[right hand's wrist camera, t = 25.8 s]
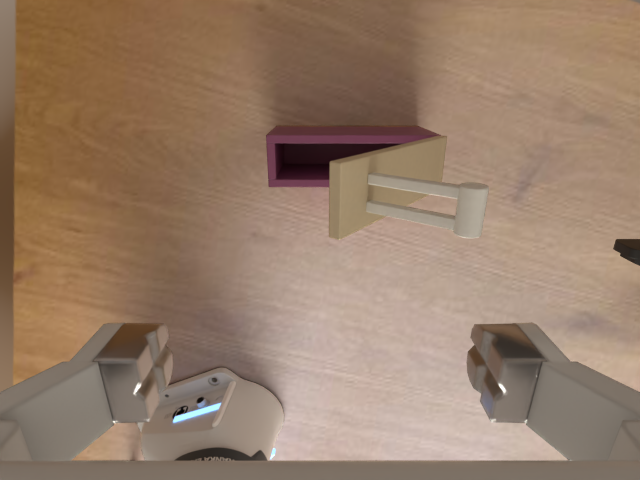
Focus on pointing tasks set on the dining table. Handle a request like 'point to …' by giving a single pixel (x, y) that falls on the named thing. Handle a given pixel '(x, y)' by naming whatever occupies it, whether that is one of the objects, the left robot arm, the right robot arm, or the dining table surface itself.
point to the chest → (327, 149)
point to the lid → (400, 190)
